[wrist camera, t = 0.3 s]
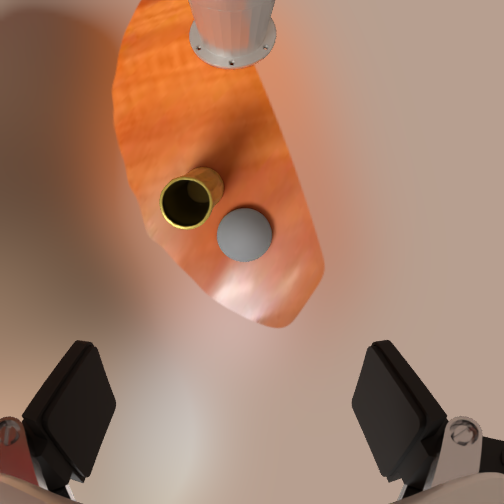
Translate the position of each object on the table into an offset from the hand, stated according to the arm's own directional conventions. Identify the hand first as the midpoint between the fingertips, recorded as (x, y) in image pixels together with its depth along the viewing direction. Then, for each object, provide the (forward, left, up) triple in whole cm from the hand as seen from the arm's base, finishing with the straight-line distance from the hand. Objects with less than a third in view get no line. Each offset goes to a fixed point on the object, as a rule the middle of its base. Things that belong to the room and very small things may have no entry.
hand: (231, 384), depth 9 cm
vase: (-3, -5, -34) cm, 35 cm away
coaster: (+4, +1, -34) cm, 34 cm away
